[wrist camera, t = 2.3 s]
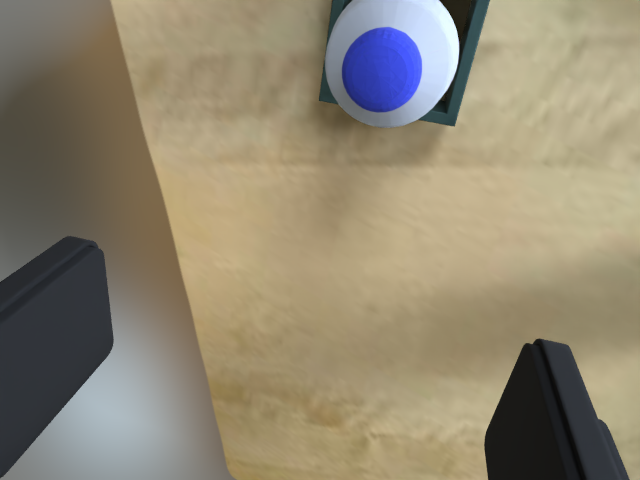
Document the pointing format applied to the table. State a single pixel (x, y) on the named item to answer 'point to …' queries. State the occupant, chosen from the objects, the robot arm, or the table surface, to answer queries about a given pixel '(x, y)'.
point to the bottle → (391, 59)
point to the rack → (450, 107)
